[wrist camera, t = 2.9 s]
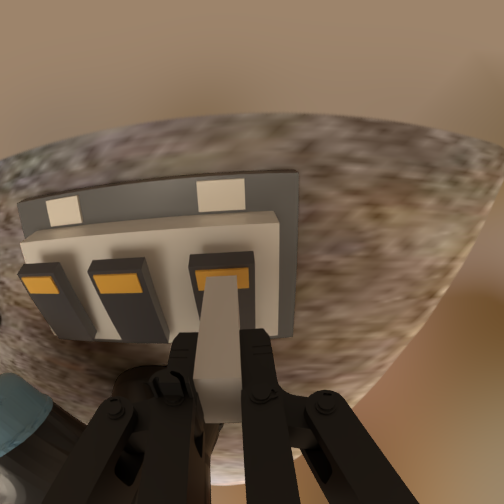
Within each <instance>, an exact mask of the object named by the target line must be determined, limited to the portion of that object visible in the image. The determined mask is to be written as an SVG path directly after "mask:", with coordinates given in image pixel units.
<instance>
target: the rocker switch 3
mask: <svg viewBox="0 0 504 504" xmlns="http://www.w3.org/2000/svg"><path fill="white" fill-rule="evenodd" d="M188 269H189V274H190V279H191V284H192V288H193V293H194V298H195V302H196V307H197V311H198V315H199V320H200V317H201V310H202V303H203V296H204V289H205V282H206V277H212V276H232V275H237V289H238V304H239V319H240V330H242V329H255V260H254V252H253V251H241V252H223V253H206V254H190V257H189V264H188Z"/></svg>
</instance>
